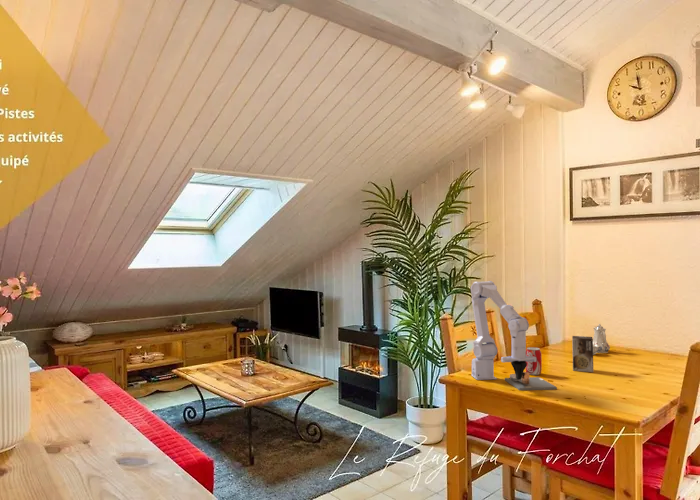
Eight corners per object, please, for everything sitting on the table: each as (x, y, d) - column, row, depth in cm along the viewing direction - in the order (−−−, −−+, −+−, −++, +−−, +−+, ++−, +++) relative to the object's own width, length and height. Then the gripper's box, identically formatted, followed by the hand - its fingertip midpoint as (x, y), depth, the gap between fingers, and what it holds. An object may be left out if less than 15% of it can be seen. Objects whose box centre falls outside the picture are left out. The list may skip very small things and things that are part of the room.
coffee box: (593, 369, 235) (592, 336, 235) (593, 372, 229) (593, 338, 229) (572, 367, 239) (572, 335, 239) (572, 370, 233) (572, 337, 233)
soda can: (542, 376, 223) (542, 350, 223) (526, 375, 224) (526, 349, 225) (540, 372, 230) (539, 347, 230) (524, 371, 231) (524, 346, 231)
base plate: (519, 390, 200) (519, 386, 200) (504, 380, 216) (504, 376, 216) (556, 389, 201) (556, 385, 201) (539, 379, 217) (539, 375, 217)
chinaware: (572, 349, 293) (568, 322, 293) (600, 347, 291) (597, 319, 291) (588, 359, 265) (585, 329, 266) (620, 357, 263) (617, 326, 263)
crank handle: (520, 384, 202) (520, 373, 202) (507, 376, 215) (507, 366, 215) (534, 384, 202) (534, 373, 202) (520, 375, 216) (520, 365, 216)
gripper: (505, 348, 199) (505, 381, 199) (539, 348, 200) (539, 381, 200) (499, 345, 206) (499, 377, 206) (532, 345, 207) (532, 376, 207)
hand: (518, 378), depth 203 cm, fingers closed
